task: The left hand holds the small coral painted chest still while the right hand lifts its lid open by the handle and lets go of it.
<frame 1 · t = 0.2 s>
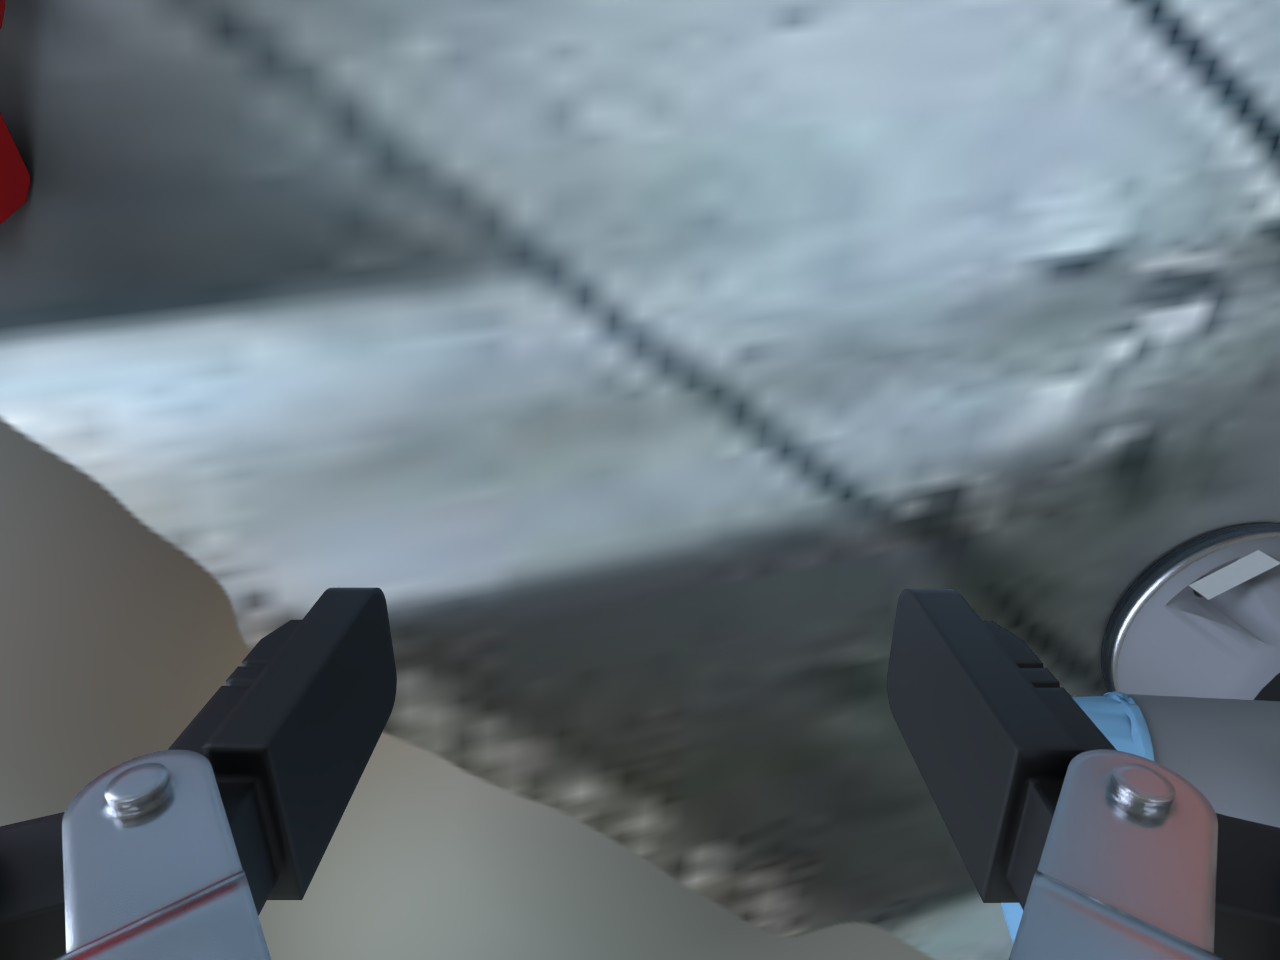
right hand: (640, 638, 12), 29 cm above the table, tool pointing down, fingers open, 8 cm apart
toy gun: (2, 19, 34), on the table
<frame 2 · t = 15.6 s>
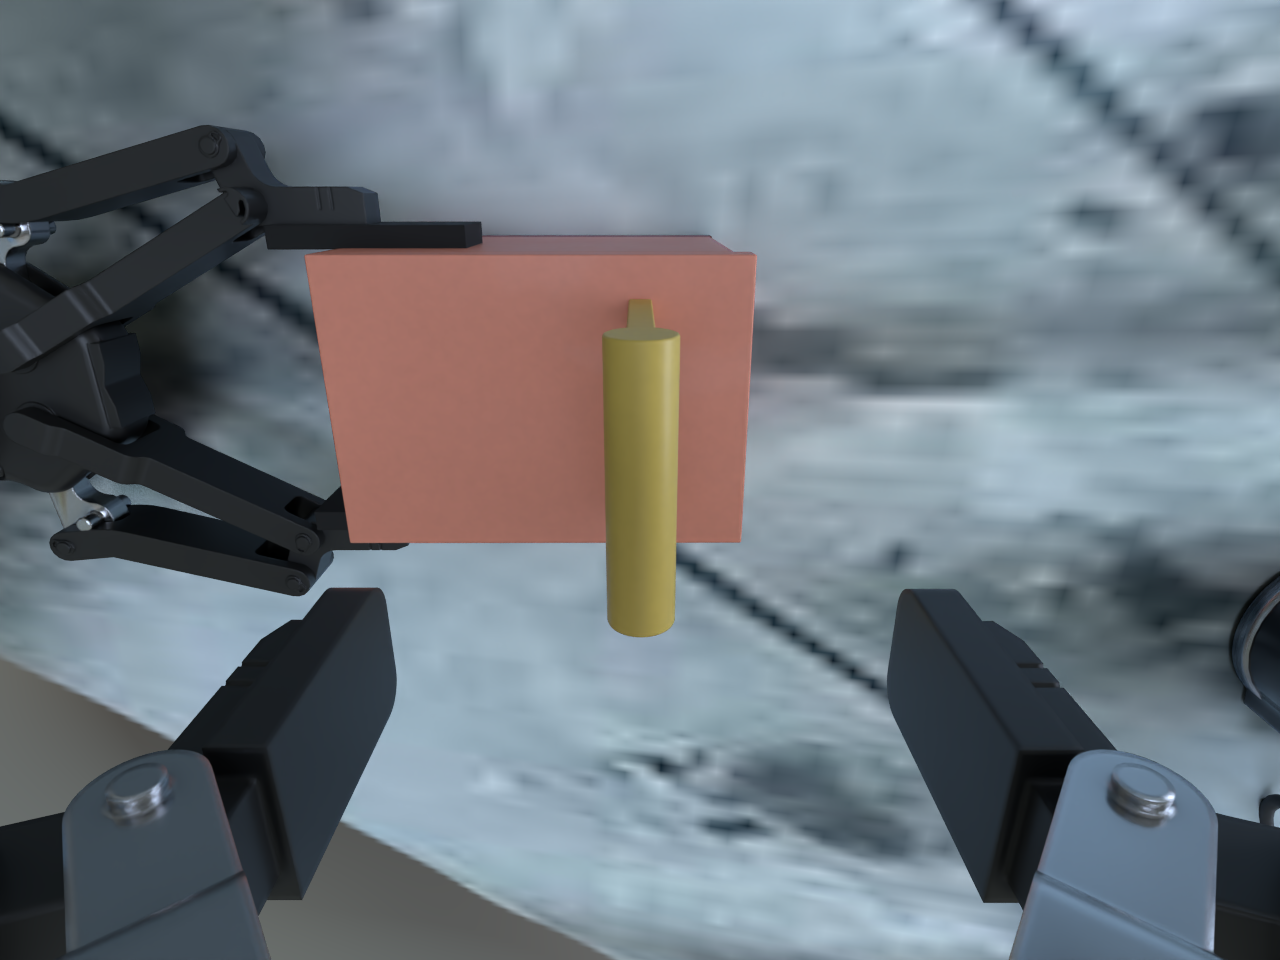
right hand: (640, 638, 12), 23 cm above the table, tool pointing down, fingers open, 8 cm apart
left hand: (485, 380, 27), fingers closed on chest, 9 cm apart
lid: (524, 441, 20), point 13 cm above the table, hinge at 0.0°
chest: (561, 347, 33), on the table, touching left hand
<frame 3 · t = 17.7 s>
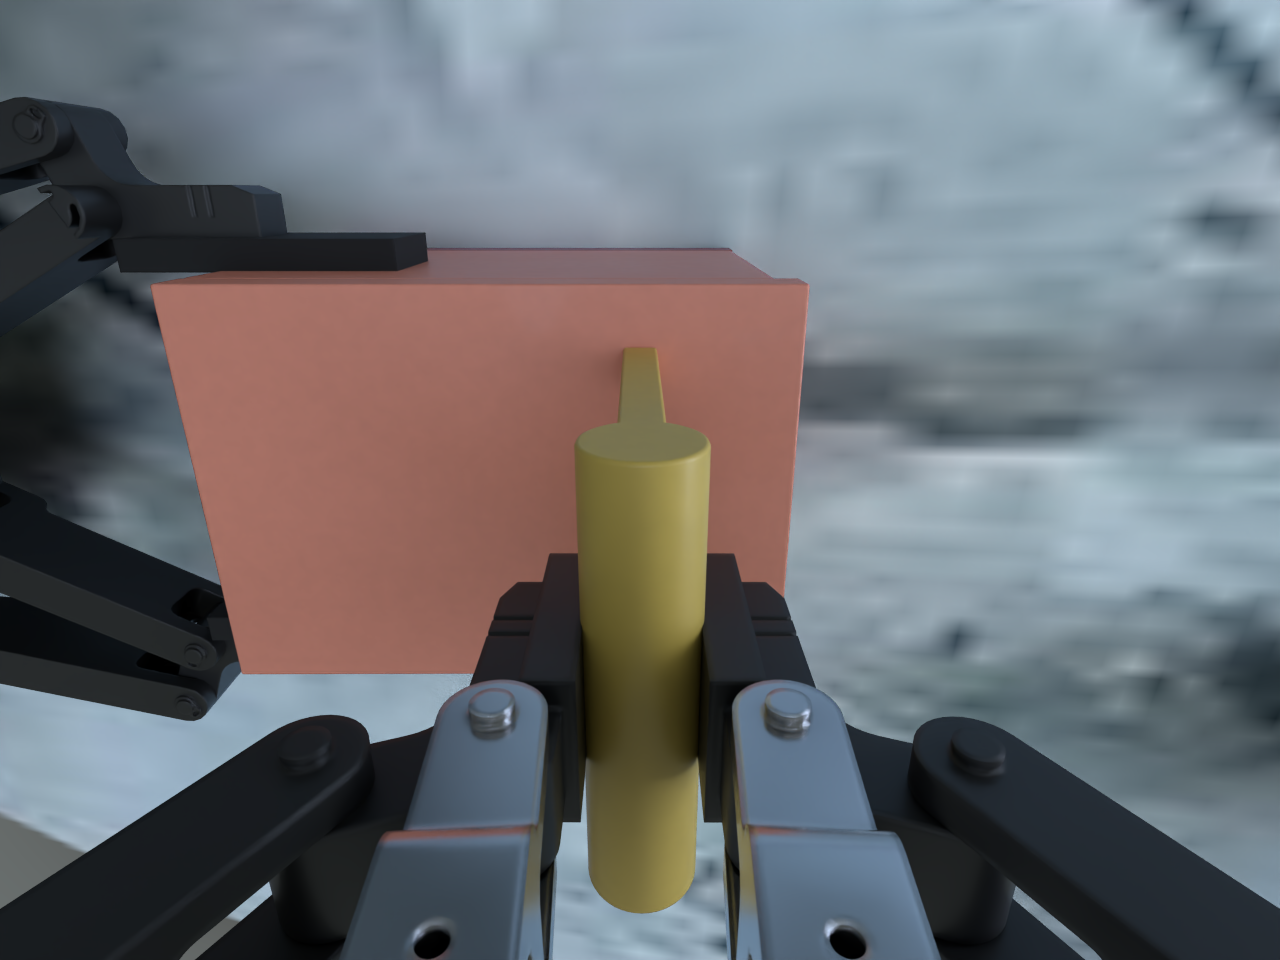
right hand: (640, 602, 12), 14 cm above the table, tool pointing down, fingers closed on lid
left hand: (432, 443, 20), fingers closed on chest, 9 cm apart
lid: (466, 567, 14), point 13 cm above the table, hinge at -0.1°, touching right hand
chest: (540, 388, 26), on the table, touching left hand
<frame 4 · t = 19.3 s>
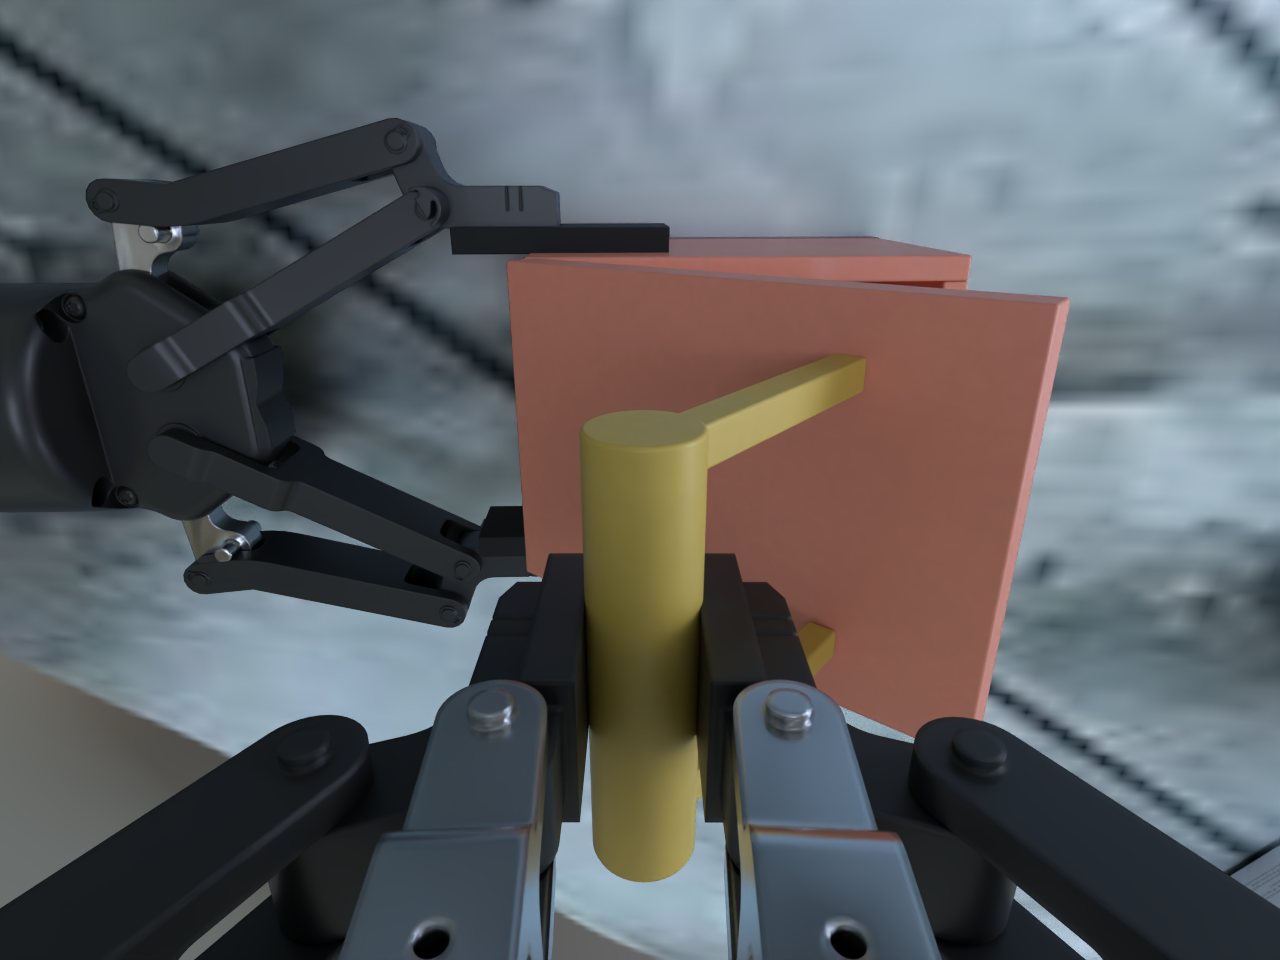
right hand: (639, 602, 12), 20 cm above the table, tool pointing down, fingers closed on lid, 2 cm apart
left hand: (664, 393, 25), fingers closed on chest, 9 cm apart
ink box: (1242, 892, 44), on the table
lid: (622, 525, 15), point 17 cm above the table, hinge at 40.4°, touching right hand
chest: (707, 355, 31), on the table, touching left hand
when the left hand's fingers open (6 cm above the table, at t = 24.6 s): chest stays where it is, on the table.
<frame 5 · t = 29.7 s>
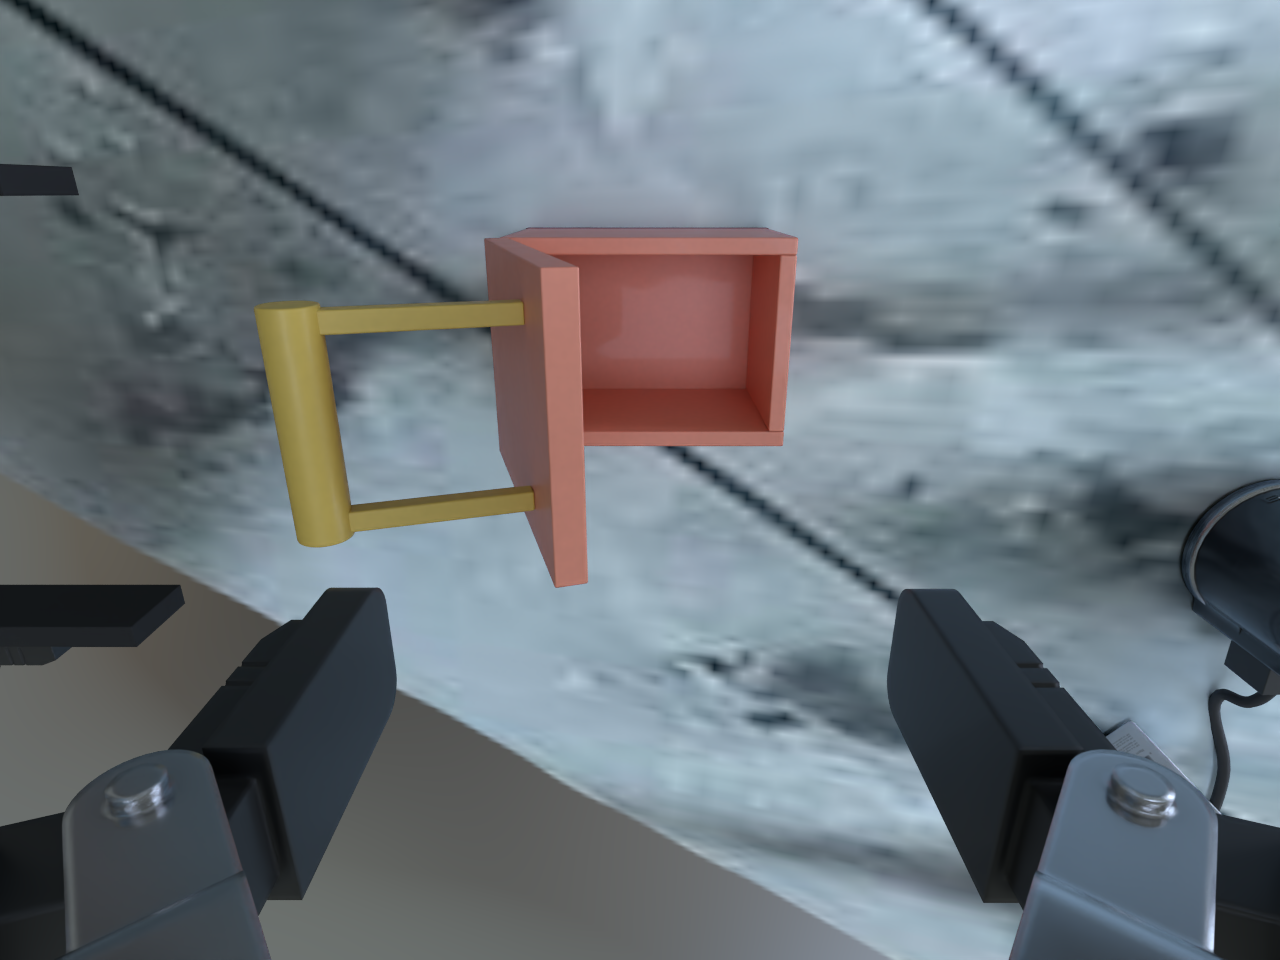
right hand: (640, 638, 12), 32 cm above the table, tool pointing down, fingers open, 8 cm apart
ink box: (1095, 768, 53), on the table
lid: (422, 392, 26), point 17 cm above the table, hinge at 72.7°
chest: (646, 316, 42), on the table
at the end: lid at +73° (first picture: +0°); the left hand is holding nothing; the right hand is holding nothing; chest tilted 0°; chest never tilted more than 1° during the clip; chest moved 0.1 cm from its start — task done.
